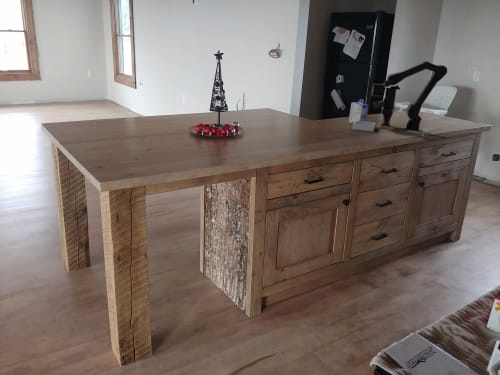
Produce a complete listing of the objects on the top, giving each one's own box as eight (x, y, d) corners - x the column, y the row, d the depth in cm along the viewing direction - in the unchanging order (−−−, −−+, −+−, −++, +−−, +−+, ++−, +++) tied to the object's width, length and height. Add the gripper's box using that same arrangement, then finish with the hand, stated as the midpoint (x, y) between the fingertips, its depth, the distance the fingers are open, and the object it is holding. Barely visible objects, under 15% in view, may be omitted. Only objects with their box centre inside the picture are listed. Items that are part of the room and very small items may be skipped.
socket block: (394, 128, 263) (395, 125, 262) (393, 131, 254) (394, 127, 253) (377, 126, 266) (377, 123, 266) (375, 129, 257) (375, 125, 257)
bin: (374, 129, 257) (375, 122, 256) (372, 133, 247) (373, 126, 246) (354, 127, 261) (355, 120, 259) (352, 130, 251) (352, 123, 249)
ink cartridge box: (366, 125, 270) (369, 100, 265) (359, 125, 267) (362, 100, 263) (355, 121, 278) (358, 98, 273) (348, 122, 275) (351, 98, 271)
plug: (390, 127, 261) (392, 115, 259) (389, 128, 257) (391, 116, 255) (381, 126, 263) (383, 114, 261) (380, 127, 258) (382, 115, 256)
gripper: (376, 94, 265) (373, 120, 270) (373, 97, 248) (369, 125, 254) (396, 95, 262) (392, 122, 267) (394, 99, 245) (390, 127, 250)
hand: (385, 124), depth 259 cm, fingers closed on plug, 4 cm apart
